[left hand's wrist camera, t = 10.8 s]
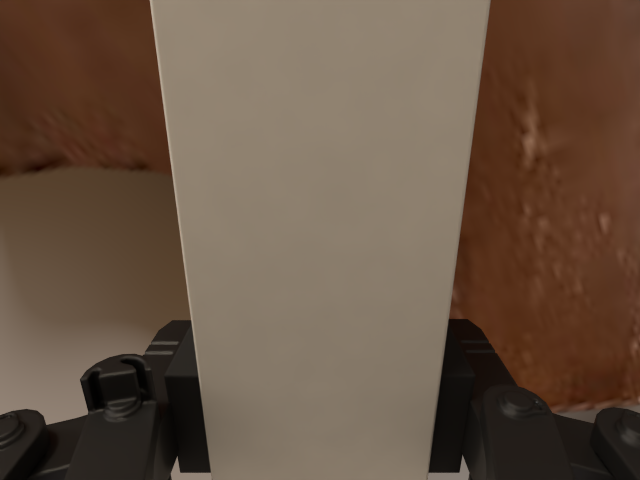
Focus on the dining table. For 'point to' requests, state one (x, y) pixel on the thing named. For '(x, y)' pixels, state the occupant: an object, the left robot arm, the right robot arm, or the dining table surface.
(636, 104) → the dining table surface
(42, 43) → the dining table surface
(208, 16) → the post
